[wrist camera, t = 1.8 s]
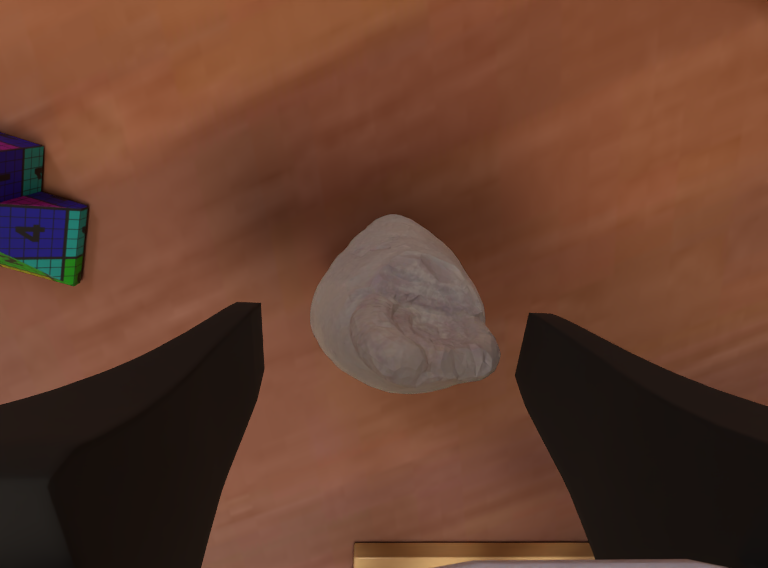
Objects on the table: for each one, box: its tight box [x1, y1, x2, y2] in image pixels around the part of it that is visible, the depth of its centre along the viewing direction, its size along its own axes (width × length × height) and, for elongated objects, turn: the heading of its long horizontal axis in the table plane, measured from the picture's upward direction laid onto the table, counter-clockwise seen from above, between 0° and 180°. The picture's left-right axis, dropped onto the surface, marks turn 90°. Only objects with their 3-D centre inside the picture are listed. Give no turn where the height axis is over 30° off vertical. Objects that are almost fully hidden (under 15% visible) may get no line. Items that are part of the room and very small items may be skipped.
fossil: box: [310, 214, 501, 394], centre depth 14 cm, size 6×4×10 cm, turn 102°
